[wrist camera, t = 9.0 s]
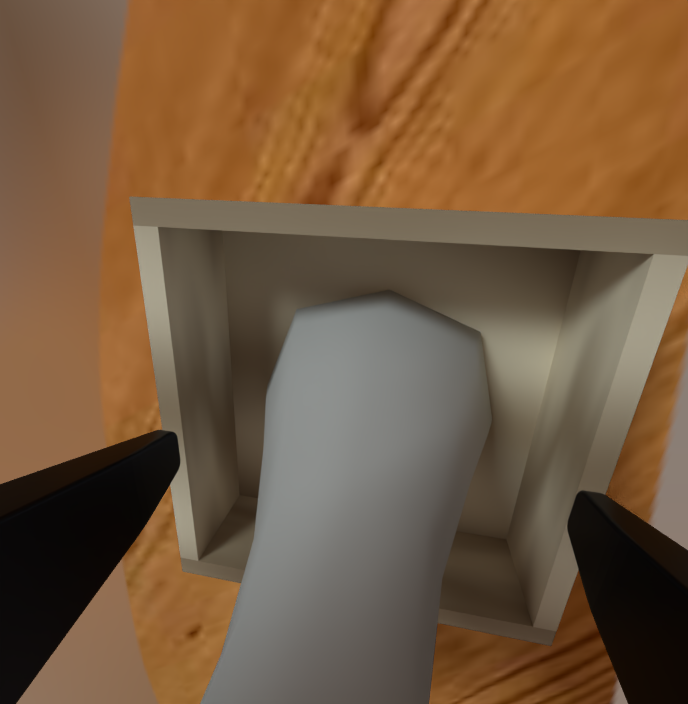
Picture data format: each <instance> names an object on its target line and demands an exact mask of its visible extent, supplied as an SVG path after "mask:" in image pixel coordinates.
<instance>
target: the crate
mask: <svg viewBox="0 0 688 704" xmlns="http://www.w3.org/2000/svg"><path fill="white" fill-rule="evenodd" d="M129 198H130V205H131V212H132V219H133V226H134V233H135V240H136V247H137V254H138V261H139V268H140V275H141V282H142V289H143V296H144V303H145V310H146V317H147V324H148V331H149V338H150V345H151V352H152V359H153V366H154V373H155V380H156V387H157V394H158V401H159V408H160V415H161V422H162V429H163V430H165V431H172V432H174V433H176V435H177V437H178V444H179V452H180V467H179V470H178V472H177V474H176V475H175V477H174V479H173V480H172V482H171V484H170V486H171V493H172V500H173V507H174V514H175V521H176V528H177V535H178V542H179V549H180V556H181V563H182V570H183V572H188V573H193V574H198V575H203V576H208V577H213V578H218V579H223V580H228V581H233V582H238V583H241V582H242V579H243V575H244V572H245V568H246V565H247V561H248V557H249V554H250V550H251V547H252V543H253V540H254V532H255V523H256V513H257V504H258V495H259V485H260V476H261V467H262V458H263V448H264V428H265V407H266V394H267V385H268V382H269V380H270V377H271V375H272V372H273V369H274V367H275V364H276V362H277V359H278V356H279V354H280V351H281V349H282V346H283V343H284V341H285V338H286V336H287V333H288V330H289V328H290V325H291V323H292V320H293V317H294V315H295V312H296V309H300V308H304V307H309V306H314V305H319V304H323V303H328V302H333V301H337V300H342V299H347V298H352V297H356V296H361V295H366V294H371V293H375V292H380V291H385V290H391V291H394V292H396V293H398V294H400V295H402V296H404V297H407V298H409V299H411V300H413V301H415V302H417V303H419V304H422V305H424V306H426V307H428V308H430V309H432V310H435V311H437V312H439V313H441V314H443V315H445V316H448V317H450V318H452V319H454V320H456V321H458V322H460V323H463V324H465V325H467V326H469V327H471V328H473V329H476V330H478V331H480V332H481V339H482V347H483V354H484V362H485V369H486V377H487V384H488V392H489V399H490V407H491V414H492V422H491V426H490V429H489V433H488V436H487V439H486V441H485V444H484V447H483V450H482V452H481V455H480V458H479V461H478V463H477V466H476V469H475V471H474V474H473V477H472V480H471V482H470V486H469V489H468V492H467V496H466V499H465V503H464V506H463V509H462V513H461V516H460V520H459V523H458V526H457V530H456V533H455V537H454V540H453V544H452V547H451V550H450V554H449V557H448V561H447V564H446V567H445V571H444V574H443V578H442V585H441V595H440V604H439V613H438V623H440V624H445V625H450V626H455V627H460V628H465V629H470V630H475V631H480V632H484V633H489V634H494V635H499V636H504V637H509V638H514V639H519V640H524V641H529V642H534V643H539V644H544V645H549V646H551V645H552V642H553V639H554V637H555V634H556V631H557V628H558V626H559V623H560V620H561V617H562V614H563V612H564V609H565V606H566V603H567V600H568V598H569V595H570V592H571V589H572V586H573V584H574V581H575V578H576V575H577V572H578V570H579V569H578V566H577V562H576V559H575V555H574V552H573V549H572V545H571V542H570V538H569V535H568V530H567V523H568V518H569V515H570V512H571V509H572V506H573V503H574V500H575V497H576V494H577V493H578V492H579V491H581V490H585V491H592V492H599V493H603V494H604V495H605V494H606V491H607V489H608V486H609V483H610V480H611V477H612V475H613V472H614V469H615V466H616V464H617V461H618V458H619V455H620V452H621V450H622V447H623V444H624V441H625V438H626V436H627V433H628V430H629V427H630V424H631V422H632V419H633V416H634V413H635V410H636V408H637V405H638V402H639V399H640V396H641V394H642V391H643V388H644V385H645V383H646V380H647V377H648V374H649V371H650V369H651V366H652V363H653V360H654V357H655V355H656V352H657V349H658V346H659V343H660V341H661V338H662V335H663V332H664V329H665V327H666V324H667V321H668V318H669V315H670V313H671V310H672V307H673V304H674V302H675V299H676V296H677V293H678V290H679V288H680V285H681V282H682V279H683V276H684V274H685V271H686V268H687V265H688V220H669V219H645V218H622V217H598V216H574V215H551V214H527V213H503V212H479V211H456V210H432V209H408V208H385V207H361V206H337V205H314V204H290V203H266V202H242V201H219V200H195V199H171V198H148V197H129Z"/></svg>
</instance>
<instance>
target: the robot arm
mask: <svg viewBox="0 0 688 704" xmlns="http://www.w3.org/2000/svg"><path fill="white" fill-rule="evenodd" d="M179 467H180V452H179V444H178V437H177V435H176V433H174V432H172V431H165V430H156V431H153V432H150V433H147V434H144V435H141V436H139V437H136V438H133V439H130V440H127V441H124V442H121V443H118V444H115V445H113V446H110V447H107V448H104V449H101V450H98V451H95V452H92V453H89V454H87V455H84V456H81V457H78V458H75V459H72V460H69V461H66V462H63V463H61V464H58V465H55V466H52V467H49V468H46V469H43V470H40V471H37V472H35V473H32V474H29V475H26V476H23V477H20V478H17V479H14V480H11V481H9V482H6V483H3V484H0V704H16V703H17V702H18V700H19V699H20V698H21V696H22V695H23V693H24V692H25V691H26V689H27V688H28V687H29V685H30V684H31V682H32V681H33V680H34V678H35V677H36V675H37V674H38V673H39V671H40V670H41V669H42V667H43V666H44V665H45V663H46V662H47V660H48V659H49V658H50V656H51V655H52V654H53V652H54V651H55V650H56V648H57V647H58V645H59V644H60V643H61V641H62V640H63V638H64V637H65V636H66V634H67V633H68V631H69V630H70V629H71V628H72V626H73V625H74V623H75V622H76V621H77V619H78V618H79V616H80V615H81V614H82V612H83V611H84V610H85V608H86V607H87V606H88V604H89V603H90V601H91V600H92V598H93V597H94V596H95V595H96V593H97V592H98V591H99V589H100V588H101V586H102V585H103V584H104V582H105V581H106V580H107V578H108V577H109V575H110V574H111V573H112V571H113V570H114V569H115V567H116V566H117V564H118V563H119V562H120V560H121V559H122V558H123V556H124V555H125V553H126V552H127V551H128V549H129V548H130V547H131V545H132V544H133V543H134V541H135V540H136V538H137V537H138V536H139V534H140V533H141V531H142V530H143V528H144V527H145V525H146V524H147V522H148V520H149V519H150V517H151V516H152V514H153V512H154V511H155V509H156V507H157V506H158V504H159V502H160V501H161V499H162V497H163V495H164V494H165V492H166V490H167V489H168V487H169V485H170V484H171V482H172V480H173V479H174V477H175V475H176V474H177V472H178V470H179ZM567 530H568V535H569V538H570V542H571V545H572V549H573V552H574V555H575V559H576V562H577V566H578V569H579V572H580V576H581V579H582V583H583V586H584V590H585V593H586V596H587V600H588V603H589V606H590V609H591V612H592V615H593V617H594V620H595V622H596V625H597V628H598V630H599V633H600V635H601V638H602V640H603V643H604V645H605V648H606V650H607V652H608V655H609V657H610V660H611V662H612V665H613V667H614V670H615V672H616V675H617V677H618V680H619V682H620V685H621V687H622V690H623V692H624V695H625V697H626V700H627V702H628V704H688V550H687V549H685V548H684V547H682V546H680V545H679V544H678V543H676V542H675V541H673V540H672V539H670V538H669V537H667V536H666V535H664V534H662V533H661V532H660V531H658V530H657V529H655V528H654V527H652V526H651V525H649V524H648V523H646V522H645V521H643V520H642V519H640V518H639V517H637V516H636V515H634V514H633V513H631V512H630V511H628V510H627V509H625V508H624V507H622V506H621V505H620V504H618V503H617V502H615V501H614V500H612V499H611V498H609V497H608V496H606V495H604V494H603V493H599V492H592V491H585V490H581V491H579V492H578V493H577V494H576V497H575V500H574V503H573V506H572V509H571V512H570V515H569V518H568V523H567Z"/></svg>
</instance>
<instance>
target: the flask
mask: <svg viewBox="0 0 688 704" xmlns="http://www.w3.org/2000/svg"><path fill="white" fill-rule="evenodd" d="M491 422H492V414H491V407H490V399H489V392H488V384H487V377H486V369H485V362H484V354H483V347H482V339H481V332H480V331H478V330H476V329H473V328H471V327H469V326H467V325H465V324H463V323H460V322H458V321H456V320H454V319H452V318H450V317H448V316H445V315H443V314H441V313H439V312H437V311H435V310H432V309H430V308H428V307H426V306H424V305H422V304H419V303H417V302H415V301H413V300H411V299H409V298H407V297H404V296H402V295H400V294H398V293H396V292H394V291H391V290H385V291H380V292H375V293H371V294H366V295H361V296H356V297H352V298H347V299H342V300H337V301H333V302H328V303H323V304H319V305H314V306H309V307H304V308H300V309H296V312H295V315H294V317H293V320H292V323H291V325H290V328H289V330H288V333H287V336H286V338H285V341H284V343H283V346H282V349H281V351H280V354H279V356H278V359H277V362H276V364H275V367H274V369H273V372H272V375H271V377H270V380H269V382H268V385H267V394H266V407H265V428H264V448H263V458H262V467H261V476H260V485H259V495H258V504H257V513H256V523H255V532H254V540H253V543H252V547H251V550H250V554H249V557H248V561H247V565H246V568H245V572H244V575H243V579H242V582H241V586H240V589H239V593H238V597H237V600H236V604H235V607H234V611H233V614H232V618H231V621H230V625H229V629H228V632H227V636H226V639H225V643H224V646H223V650H222V653H221V656H220V659H219V661H218V663H217V666H216V668H215V670H214V673H213V675H212V677H211V680H210V682H209V684H208V687H207V689H206V692H205V694H204V696H203V699H202V701H201V703H200V704H429V698H430V688H431V679H432V669H433V660H434V651H435V641H436V632H437V623H438V613H439V604H440V595H441V585H442V578H443V574H444V571H445V567H446V564H447V561H448V557H449V554H450V550H451V547H452V544H453V540H454V537H455V533H456V530H457V526H458V523H459V520H460V516H461V513H462V509H463V506H464V503H465V499H466V496H467V492H468V489H469V486H470V482H471V480H472V477H473V474H474V471H475V469H476V466H477V463H478V461H479V458H480V455H481V452H482V450H483V447H484V444H485V441H486V439H487V436H488V433H489V429H490V426H491Z"/></svg>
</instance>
